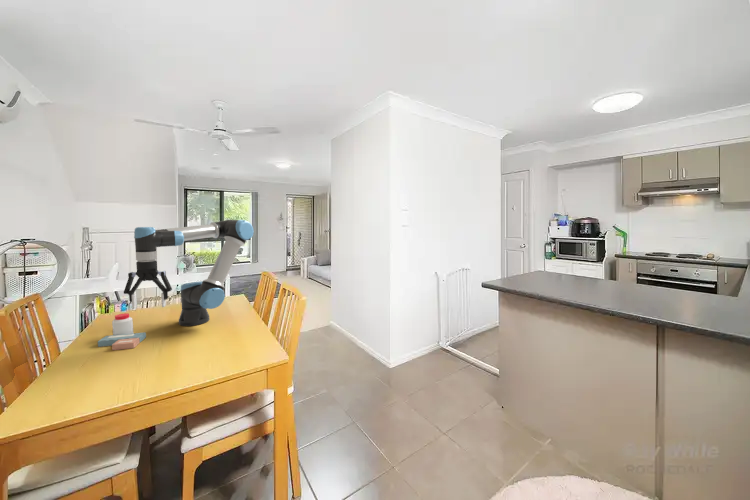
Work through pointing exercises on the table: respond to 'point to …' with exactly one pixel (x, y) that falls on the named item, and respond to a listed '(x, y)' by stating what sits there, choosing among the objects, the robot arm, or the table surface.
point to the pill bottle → (122, 324)
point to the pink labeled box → (125, 343)
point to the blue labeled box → (113, 338)
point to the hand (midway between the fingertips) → (149, 307)
